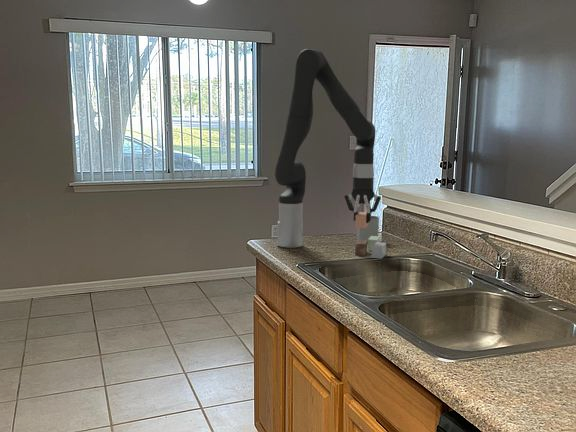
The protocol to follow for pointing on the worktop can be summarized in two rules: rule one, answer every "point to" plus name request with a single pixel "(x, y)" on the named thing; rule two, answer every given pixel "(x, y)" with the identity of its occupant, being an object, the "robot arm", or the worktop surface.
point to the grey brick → (379, 250)
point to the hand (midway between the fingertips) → (362, 222)
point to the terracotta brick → (361, 220)
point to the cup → (369, 229)
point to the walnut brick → (361, 247)
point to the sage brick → (372, 241)
